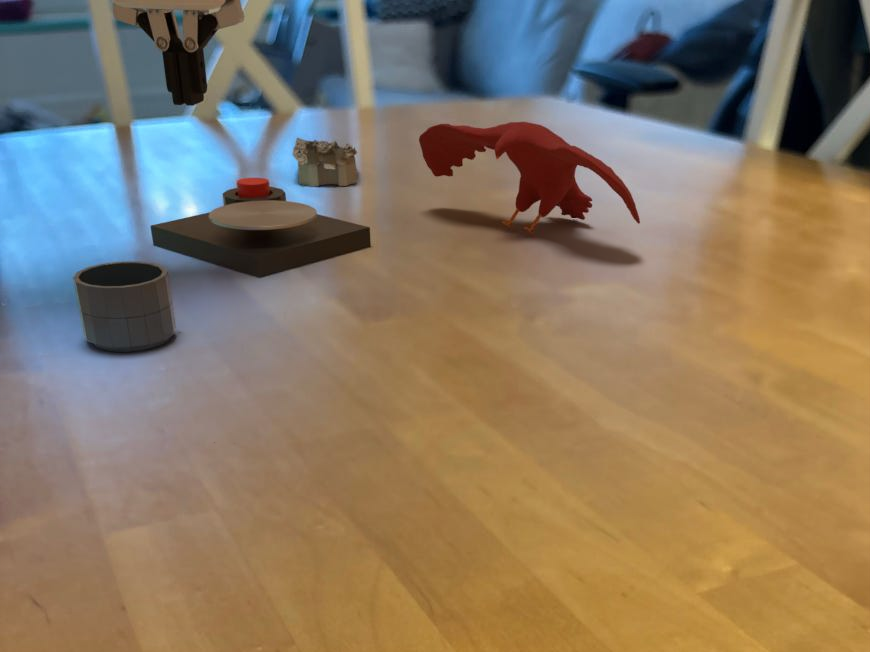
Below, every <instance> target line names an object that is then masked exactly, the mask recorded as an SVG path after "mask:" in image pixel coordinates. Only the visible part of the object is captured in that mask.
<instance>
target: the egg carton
mask: <svg viewBox="0 0 870 652" xmlns="http://www.w3.org/2000/svg"><path fill="white" fill-rule="evenodd" d="M337 142H338V141H337V140H334V141H333V142H329V141H327V140H321V141H319V140H316V139H313V140H312V141H311V140H306V139H303V138H300V137H296V140H295V144H294V146H293V151H292V156H293V158H294V159H295V160H296V161H297V171H298V172H297V173H298V184H299V185H303V186H308V187H319V186H322V185H323V186H324V185H336V186H339V187H347V186H349V185H353V184H356V183H357V174H358V171H357V170H358V169H357V163H356V157H355V156H356V155H357V154H358V150H356V147H353V145H352V144H350V143H346V144H345V146H340V145H339V144H338V143H337Z"/></svg>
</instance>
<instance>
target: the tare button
mask: <svg viewBox="0 0 870 652" xmlns="http://www.w3.org/2000/svg"><path fill="white" fill-rule="evenodd" d="M270 187H271V186H270V180H269V179H267V178H265V177H244V178H243V177H242V178H240V179H237V180H236V188H237V191H238V196H240V197H252V198H253V197H264V196H269V195H270Z"/></svg>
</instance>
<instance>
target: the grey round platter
mask: <svg viewBox="0 0 870 652" xmlns="http://www.w3.org/2000/svg"><path fill="white" fill-rule="evenodd" d="M317 211H318V210H317V209H316V208H315V207H313V206H311V205H309V204H306V203H301V202H296V201H289V200H286V201H275V200H264V201H248V202H240V203H234V204H229V205H225V206H224V205H221V206H218V207H216V208H214V209H212V210H211V211H210V213H209V212H208V213H209V220H210V221H211V222H212V223H214V224H216V225H219V226H222V227H226V228H232V229H241V230H272V229H282V228H289V227H295V226H299V225H303V224H306V223H308V222H310V221H312V220H314V219H315V218H316V216H317V214H318V213H317Z"/></svg>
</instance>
